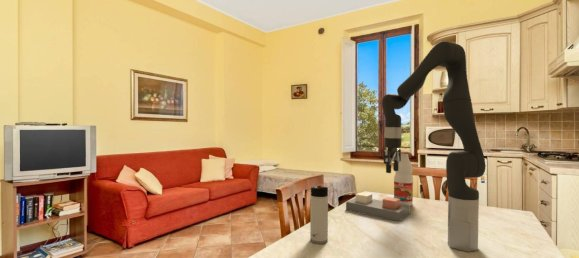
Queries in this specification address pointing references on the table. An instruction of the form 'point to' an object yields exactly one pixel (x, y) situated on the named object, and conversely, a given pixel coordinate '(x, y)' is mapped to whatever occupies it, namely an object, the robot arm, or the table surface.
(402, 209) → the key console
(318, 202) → the travel mug
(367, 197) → the off-white key
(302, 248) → the table surface
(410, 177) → the fruit juice
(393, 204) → the brick-red key
